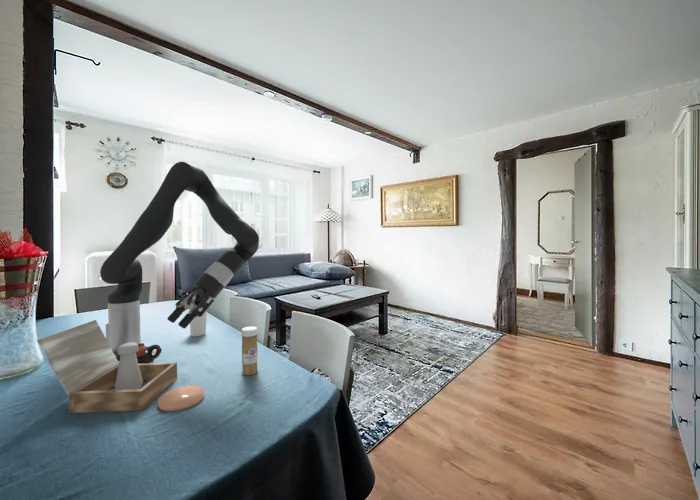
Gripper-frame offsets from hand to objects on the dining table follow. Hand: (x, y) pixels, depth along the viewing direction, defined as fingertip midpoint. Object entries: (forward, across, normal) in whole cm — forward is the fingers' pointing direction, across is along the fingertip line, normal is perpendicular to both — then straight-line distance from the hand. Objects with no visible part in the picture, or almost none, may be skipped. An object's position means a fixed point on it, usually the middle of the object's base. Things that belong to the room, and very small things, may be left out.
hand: (175, 323), depth 84 cm
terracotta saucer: (+14, +13, +9) cm, 21 cm away
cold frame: (+21, -2, +2) cm, 21 cm away
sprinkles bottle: (0, +13, +22) cm, 26 cm away
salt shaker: (+19, 0, +3) cm, 19 cm away
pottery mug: (+15, -18, +8) cm, 24 cm away
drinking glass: (-3, -36, +26) cm, 44 cm away
